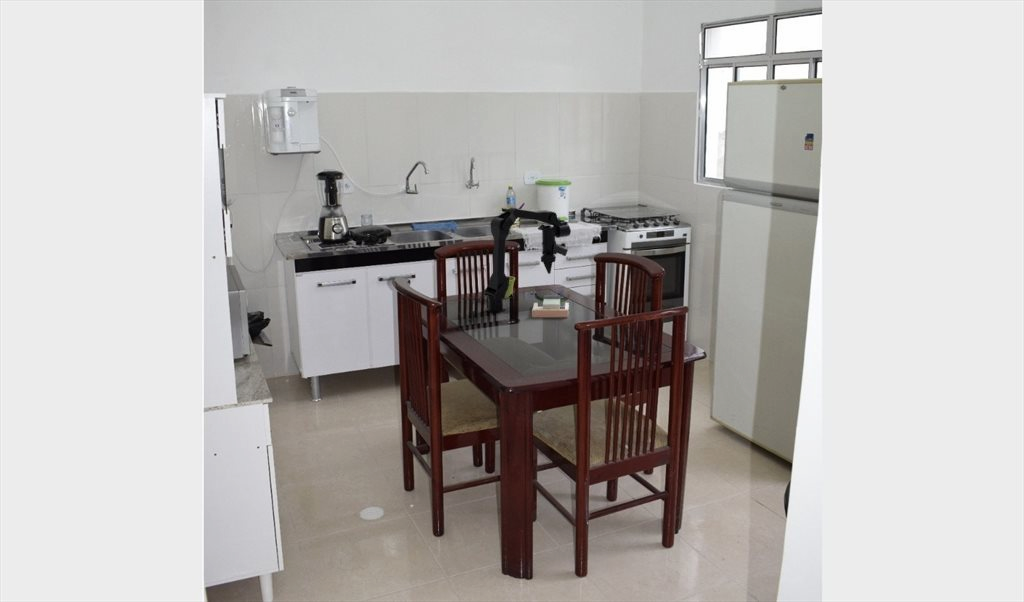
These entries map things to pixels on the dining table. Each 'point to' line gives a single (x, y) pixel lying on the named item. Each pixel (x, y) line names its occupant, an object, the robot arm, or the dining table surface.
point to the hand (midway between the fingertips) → (549, 273)
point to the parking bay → (549, 311)
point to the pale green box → (551, 302)
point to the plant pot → (510, 286)
